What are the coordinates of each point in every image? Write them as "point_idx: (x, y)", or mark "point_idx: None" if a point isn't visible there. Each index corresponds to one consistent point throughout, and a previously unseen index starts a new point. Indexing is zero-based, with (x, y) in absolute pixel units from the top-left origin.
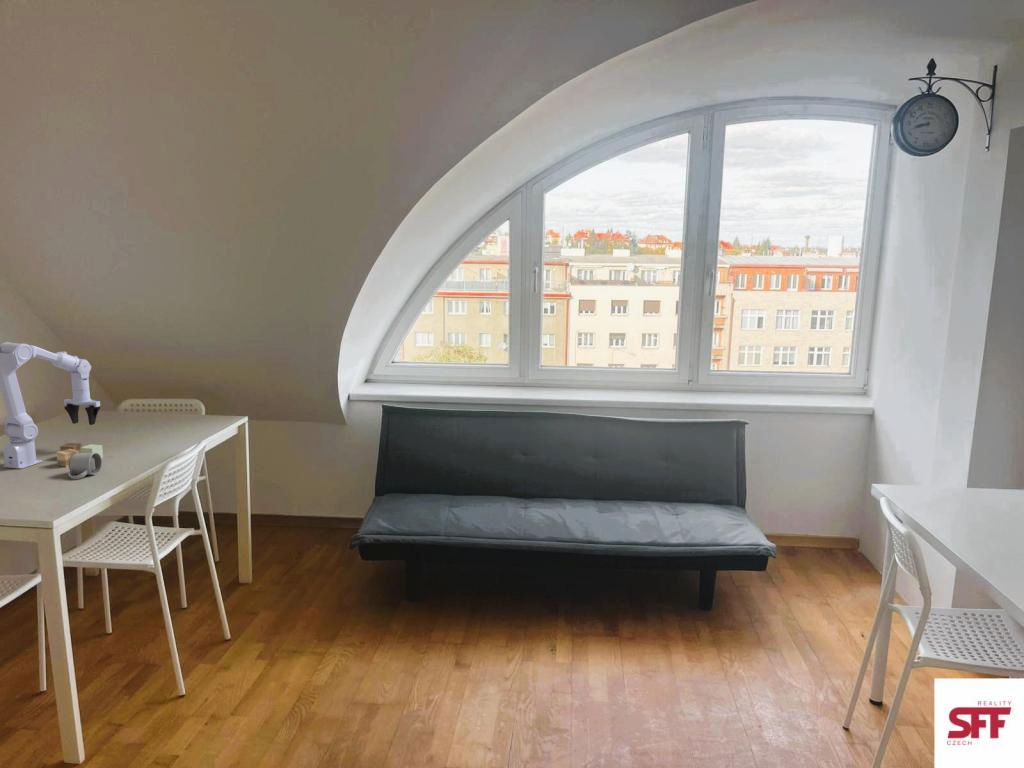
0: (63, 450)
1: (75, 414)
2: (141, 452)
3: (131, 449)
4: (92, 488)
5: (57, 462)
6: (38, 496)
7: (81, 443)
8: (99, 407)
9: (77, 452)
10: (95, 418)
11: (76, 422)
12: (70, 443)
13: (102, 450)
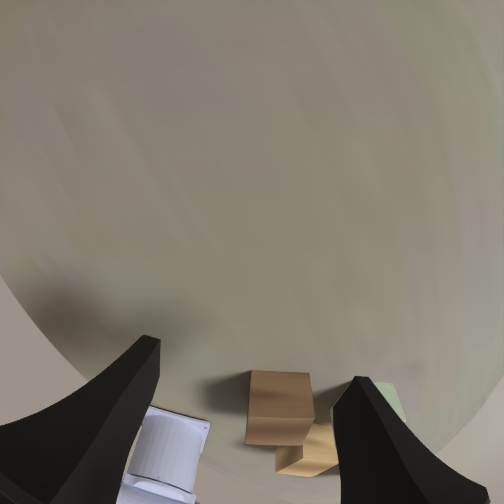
0: (289, 465)
1: (121, 429)
2: (493, 311)
3: (472, 276)
4: None
5: (276, 445)
6: (326, 497)
7: (314, 416)
8: (474, 502)
9: (337, 459)
10: (393, 418)
11: (158, 361)
12: (264, 422)
13: (400, 404)
